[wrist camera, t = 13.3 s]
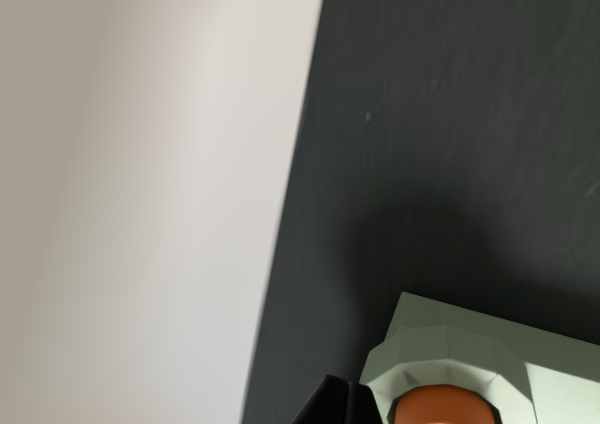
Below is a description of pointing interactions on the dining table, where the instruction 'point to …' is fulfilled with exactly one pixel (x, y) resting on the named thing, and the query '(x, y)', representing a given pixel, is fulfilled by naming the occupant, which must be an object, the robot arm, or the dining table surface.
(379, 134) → the dining table surface
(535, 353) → the housing
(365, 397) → the robot arm
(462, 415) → the button
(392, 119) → the dining table surface
